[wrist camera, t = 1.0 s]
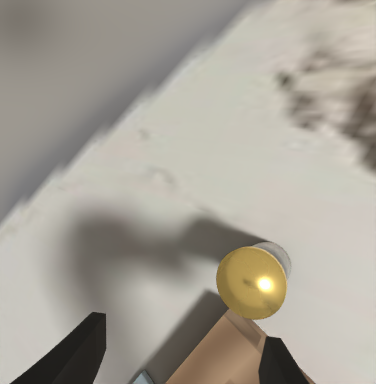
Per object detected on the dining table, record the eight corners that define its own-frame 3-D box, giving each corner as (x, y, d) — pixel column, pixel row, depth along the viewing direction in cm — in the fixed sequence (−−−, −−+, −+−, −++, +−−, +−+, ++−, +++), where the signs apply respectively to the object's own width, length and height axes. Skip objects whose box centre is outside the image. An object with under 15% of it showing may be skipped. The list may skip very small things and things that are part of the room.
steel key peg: (304, 262, 22) (302, 283, 15) (272, 299, 23) (255, 335, 15) (263, 229, 24) (243, 233, 16) (234, 264, 24) (204, 282, 17)
